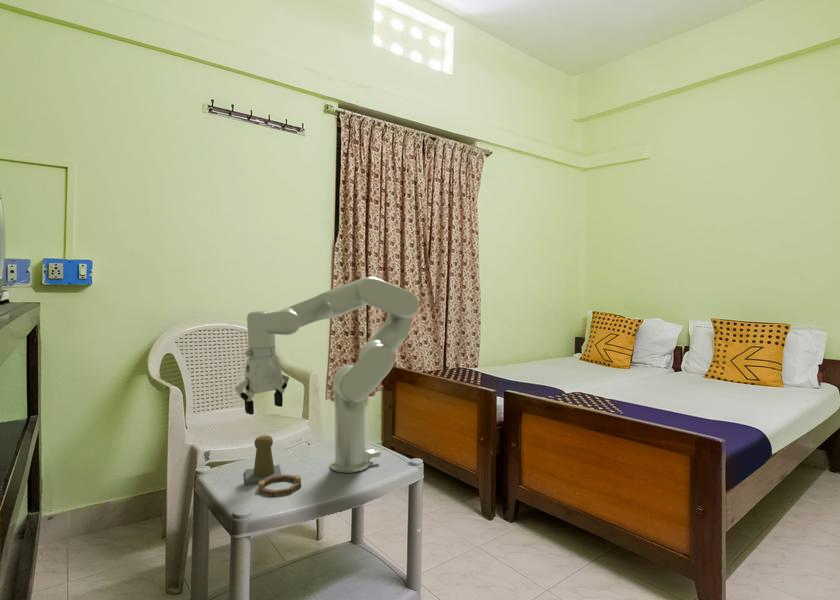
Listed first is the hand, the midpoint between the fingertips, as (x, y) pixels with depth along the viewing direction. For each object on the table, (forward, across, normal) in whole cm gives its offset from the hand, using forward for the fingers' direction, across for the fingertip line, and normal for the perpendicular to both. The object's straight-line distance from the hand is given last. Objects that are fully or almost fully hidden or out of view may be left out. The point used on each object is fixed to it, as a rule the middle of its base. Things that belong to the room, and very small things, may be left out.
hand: (264, 409), depth 136 cm
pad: (+20, -1, +1) cm, 20 cm away
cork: (+19, -1, +1) cm, 19 cm away
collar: (+20, -3, -10) cm, 23 cm away
